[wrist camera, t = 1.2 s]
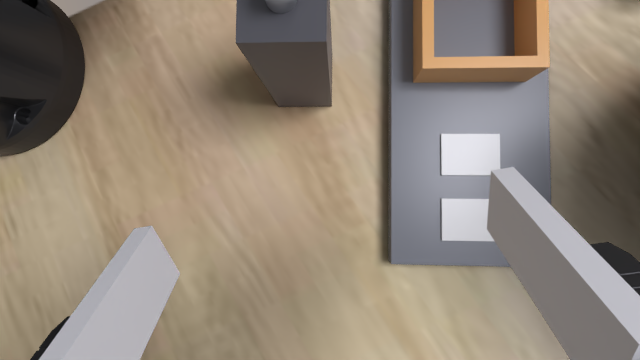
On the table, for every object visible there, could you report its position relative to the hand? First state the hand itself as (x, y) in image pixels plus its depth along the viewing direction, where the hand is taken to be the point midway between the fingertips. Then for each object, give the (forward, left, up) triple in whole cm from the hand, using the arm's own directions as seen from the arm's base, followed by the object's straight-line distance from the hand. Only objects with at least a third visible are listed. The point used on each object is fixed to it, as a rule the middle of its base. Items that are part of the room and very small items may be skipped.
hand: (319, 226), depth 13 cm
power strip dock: (+11, +9, -15) cm, 20 cm away
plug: (-2, +11, -15) cm, 19 cm away
